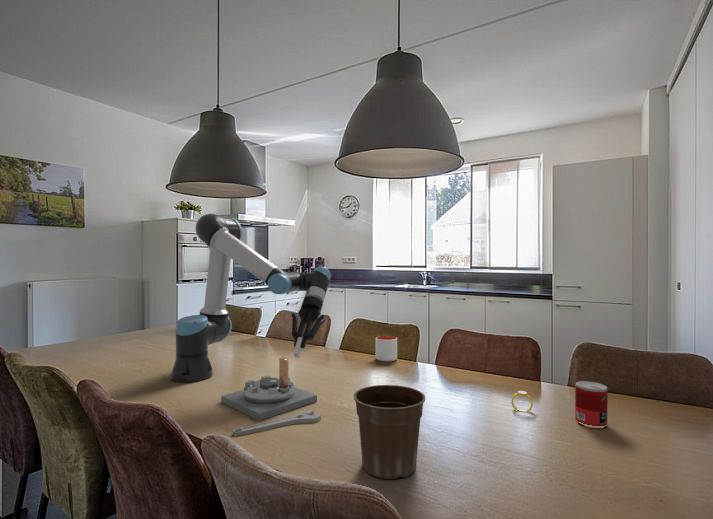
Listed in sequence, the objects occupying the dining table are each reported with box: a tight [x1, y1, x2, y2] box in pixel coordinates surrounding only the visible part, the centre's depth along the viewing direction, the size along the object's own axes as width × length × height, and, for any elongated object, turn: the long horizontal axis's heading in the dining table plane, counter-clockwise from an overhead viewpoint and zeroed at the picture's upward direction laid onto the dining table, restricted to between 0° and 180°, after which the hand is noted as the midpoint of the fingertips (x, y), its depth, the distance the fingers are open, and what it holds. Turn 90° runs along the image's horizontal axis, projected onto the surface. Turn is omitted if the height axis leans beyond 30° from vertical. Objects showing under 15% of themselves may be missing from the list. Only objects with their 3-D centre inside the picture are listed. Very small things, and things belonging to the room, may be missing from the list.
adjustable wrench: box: [232, 410, 322, 437], centre depth 116 cm, size 25×6×2 cm, turn 115°
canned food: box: [574, 380, 609, 426], centre depth 116 cm, size 8×8×11 cm
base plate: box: [220, 386, 318, 422], centre depth 133 cm, size 22×22×2 cm
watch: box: [511, 390, 534, 412], centre depth 126 cm, size 6×3×6 cm, turn 67°
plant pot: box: [352, 384, 426, 480], centre depth 93 cm, size 16×16×16 cm
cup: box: [375, 335, 398, 363], centre depth 188 cm, size 10×10×10 cm
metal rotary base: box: [243, 357, 295, 404], centre depth 133 cm, size 17×16×13 cm
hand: (296, 355), depth 139 cm, fingers closed
